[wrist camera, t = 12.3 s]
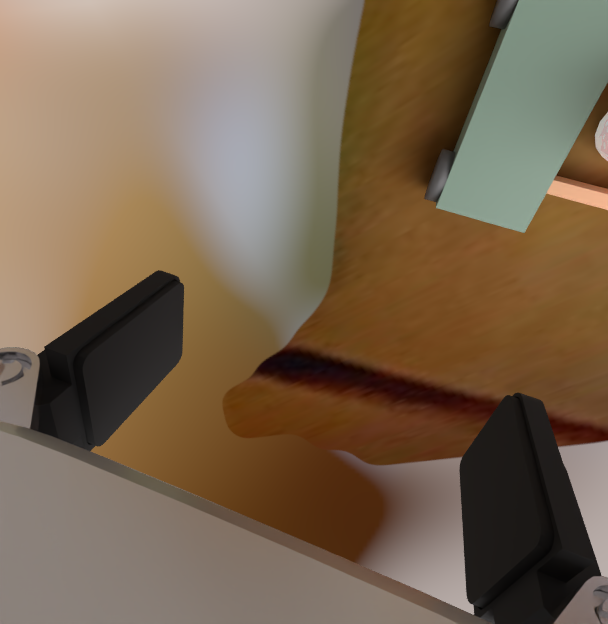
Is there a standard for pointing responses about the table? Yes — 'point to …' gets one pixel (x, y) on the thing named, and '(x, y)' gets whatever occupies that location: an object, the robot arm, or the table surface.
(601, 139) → the beverage cup
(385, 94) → the table surface
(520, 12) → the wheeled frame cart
